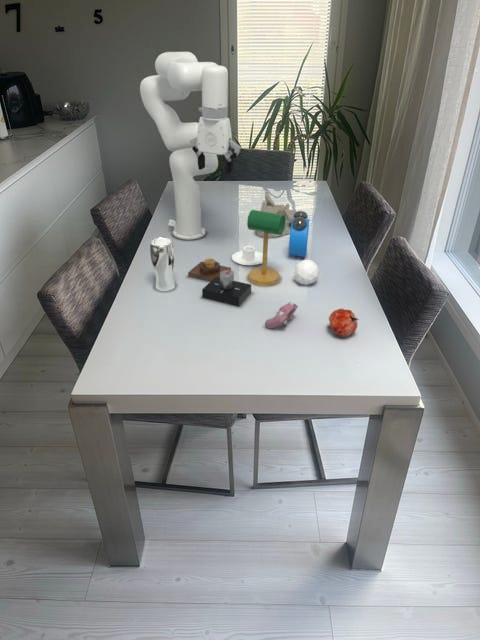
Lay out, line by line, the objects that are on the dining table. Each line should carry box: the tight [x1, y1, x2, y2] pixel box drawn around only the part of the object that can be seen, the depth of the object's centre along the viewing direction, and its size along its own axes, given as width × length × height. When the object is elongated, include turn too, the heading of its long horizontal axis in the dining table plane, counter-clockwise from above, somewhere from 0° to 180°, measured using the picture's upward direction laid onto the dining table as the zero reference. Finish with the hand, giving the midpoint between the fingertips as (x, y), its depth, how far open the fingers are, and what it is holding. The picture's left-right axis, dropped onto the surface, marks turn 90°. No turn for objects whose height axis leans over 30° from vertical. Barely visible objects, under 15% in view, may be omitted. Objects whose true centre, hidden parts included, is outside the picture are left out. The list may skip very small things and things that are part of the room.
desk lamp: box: [246, 209, 286, 287], centre depth 142 cm, size 10×10×22 cm
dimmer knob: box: [220, 270, 235, 290], centre depth 135 cm, size 4×4×5 cm
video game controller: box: [264, 301, 299, 329], centre depth 125 cm, size 10×5×7 cm, turn 148°
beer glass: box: [149, 236, 176, 292], centre depth 139 cm, size 7×7×15 cm
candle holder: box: [231, 245, 263, 266], centre depth 158 cm, size 12×12×4 cm
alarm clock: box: [288, 209, 310, 260], centre depth 159 cm, size 13×6×15 cm, turn 170°
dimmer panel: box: [201, 277, 252, 307], centre depth 137 cm, size 12×9×3 cm
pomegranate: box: [328, 308, 360, 338], centre depth 121 cm, size 7×7×10 cm
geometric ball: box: [293, 259, 320, 286], centre depth 144 cm, size 8×8×8 cm
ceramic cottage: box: [255, 190, 297, 239], centre depth 179 cm, size 16×16×15 cm
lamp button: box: [203, 258, 216, 268], centre depth 148 cm, size 4×4×2 cm
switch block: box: [187, 260, 232, 283], centre depth 149 cm, size 11×9×4 cm
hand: (215, 170), depth 146 cm, fingers open, 9 cm apart
